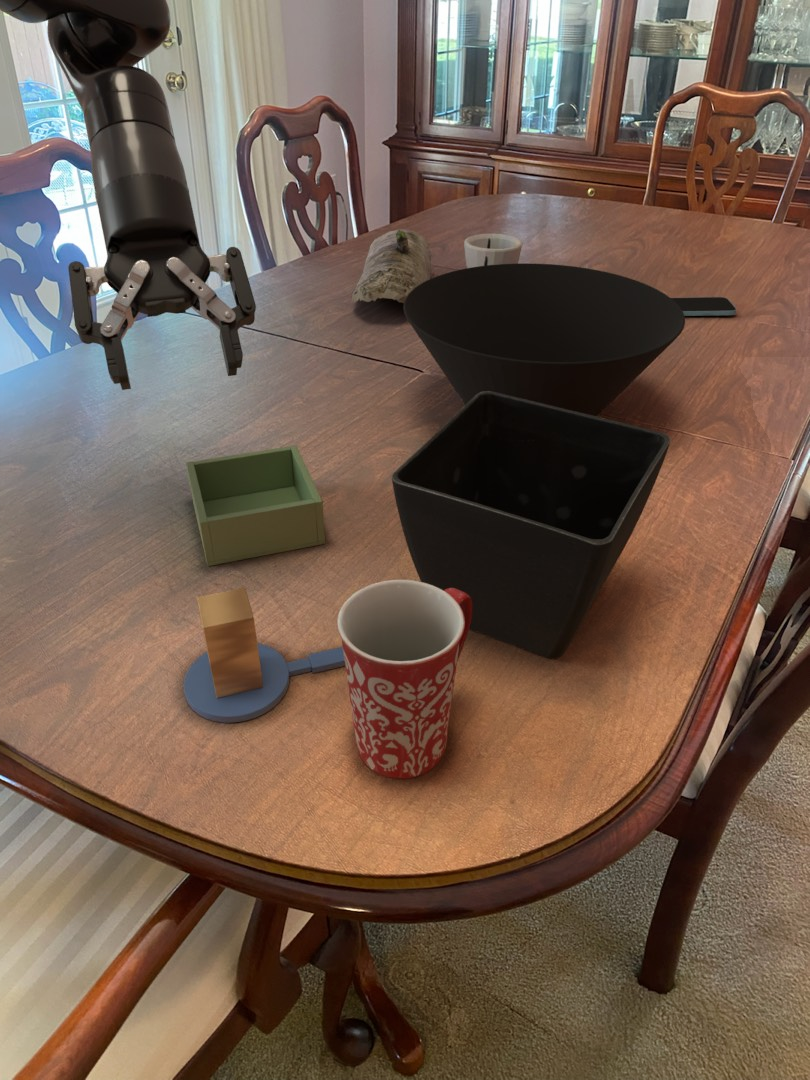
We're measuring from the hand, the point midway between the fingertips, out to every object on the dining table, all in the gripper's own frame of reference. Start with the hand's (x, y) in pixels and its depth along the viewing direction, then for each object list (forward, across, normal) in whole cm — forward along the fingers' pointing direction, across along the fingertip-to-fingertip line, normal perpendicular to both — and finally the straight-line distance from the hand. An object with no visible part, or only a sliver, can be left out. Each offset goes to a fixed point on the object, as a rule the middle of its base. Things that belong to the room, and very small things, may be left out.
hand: (180, 379), depth 66 cm
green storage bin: (+8, +6, +25) cm, 27 cm away
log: (-38, +43, +72) cm, 92 cm away
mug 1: (+32, +13, +2) cm, 35 cm away
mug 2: (-36, +61, +70) cm, 99 cm away
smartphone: (-22, +91, +56) cm, 109 cm away
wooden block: (+24, 0, +8) cm, 26 cm away
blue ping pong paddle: (+25, +4, +8) cm, 27 cm away
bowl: (-2, +47, +36) cm, 59 cm away
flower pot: (+24, +28, +10) cm, 38 cm away
